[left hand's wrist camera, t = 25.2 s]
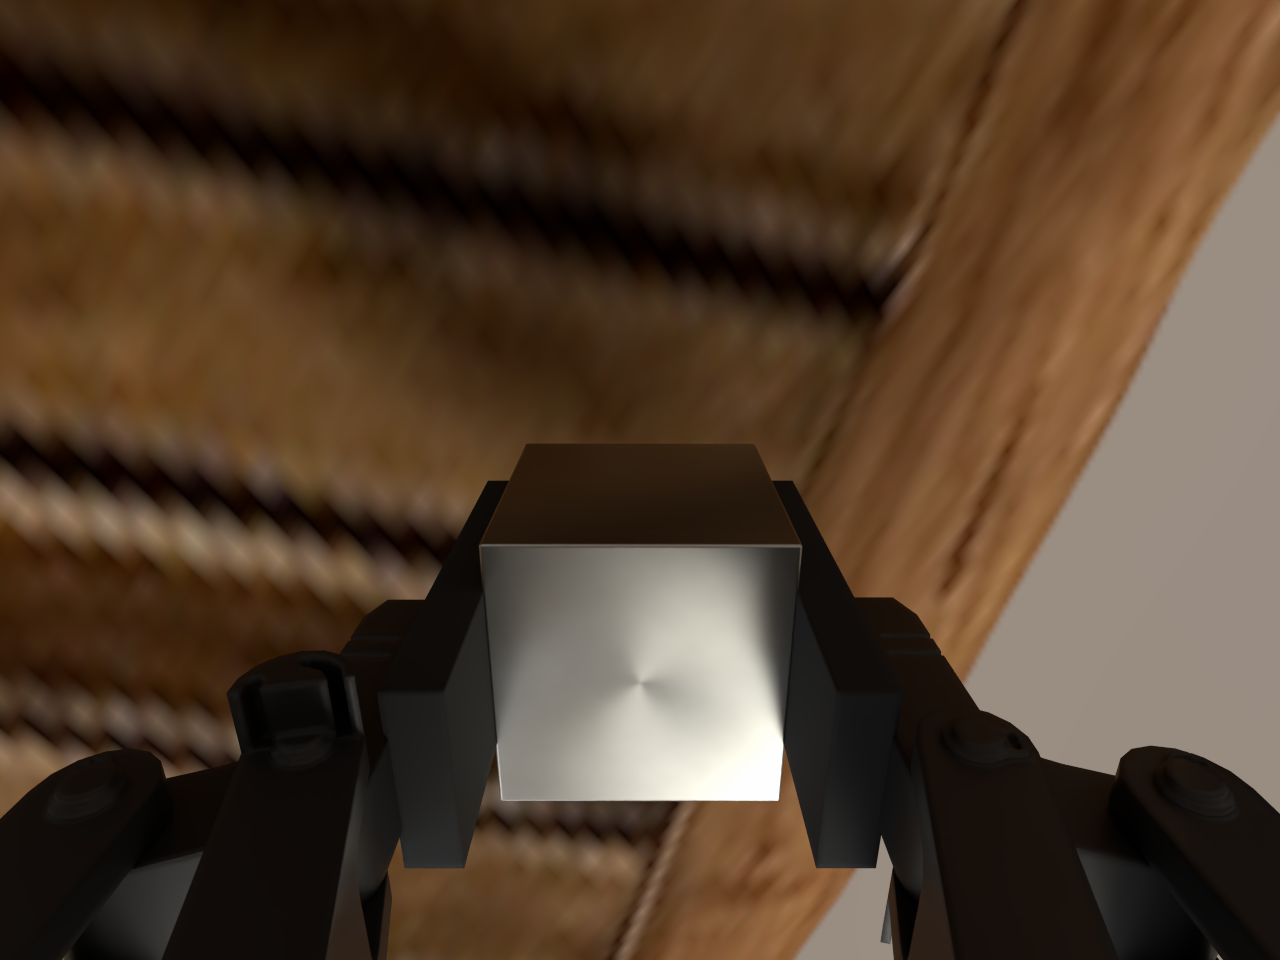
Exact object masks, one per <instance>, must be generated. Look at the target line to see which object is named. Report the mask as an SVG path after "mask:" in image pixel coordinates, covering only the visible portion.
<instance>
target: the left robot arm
mask: <svg viewBox="0 0 1280 960" xmlns="http://www.w3.org/2000/svg"><path fill="white" fill-rule="evenodd" d="M508 482H509V481H488V482H487V484H486V486H485V488H484V489H483V491H482V493H481V495H480V497H479V499H478V501H477V503H476V505H475V506H474V508H473V510H472V512H471V514H470V516H469V518H468V520H467V522H466V523H465V525H464V527H463V529H462V531H461V533H460V535H459V537H458V538H457V540H456V542H455V544H454V546H453V548H452V550H451V552H450V554H449V555H448V557H447V559H446V561H445V563H444V565H443V567H442V569H441V571H440V572H439V574H438V576H437V578H436V580H435V582H434V584H433V586H432V588H431V589H430V591H429V593H428V595H427V597H426V599H425V600H387V601H386V602H384V603H383V604H381V605H380V606H379V607H377V608H376V609H374V610H373V611H372V612H370V613H369V614H368V615H366V616H365V617H364V618H363V619H362V621H361V622H360V624H359V625H358V627H357V628H356V630H355V632H354V633H353V635H352V636H351V641H348V642H347V644H346V645H345V647H344V648H343V650H342V651H341V653H340V654H336V653H332V652H328V651H301V652H296V653H292V654H287V655H283V656H279V657H276V658H274V659H271V660H269V661H267V662H264V663H262V664H260V665H257V666H255V667H254V668H253V669H251V670H250V671H248V672H247V673H245V674H244V675H242V676H241V677H240V678H238V679H237V681H236V682H235V683H234V684H233V686H232V687H231V688H230V689H229V691H228V692H227V697H228V701H229V705H230V709H231V713H232V717H233V721H234V725H235V729H236V733H237V737H238V741H239V745H240V749H241V756H240V759H239V761H237V762H233V763H230V764H227V765H223V766H220V767H216V768H211V769H207V770H202V771H198V772H193V773H189V774H184V775H180V776H175V777H171V778H166V777H165V773H164V770H163V767H162V763H161V761H160V760H159V759H158V758H157V757H155V756H154V755H153V754H152V753H151V752H147V751H142V750H136V749H124V750H115V751H107V752H103V753H100V754H97V755H94V756H91V757H87V758H84V759H81V760H78V761H76V762H74V763H72V764H70V765H69V766H67V767H65V768H63V769H61V770H59V771H57V772H55V773H53V774H51V775H50V776H48V777H47V778H46V779H45V780H43V781H42V782H41V783H39V784H38V785H37V786H35V787H34V788H33V789H32V790H30V791H29V792H28V793H27V794H26V795H25V796H24V797H23V798H22V799H21V800H19V801H18V802H17V803H16V804H15V805H14V806H13V807H12V808H11V809H10V810H9V811H8V812H7V813H6V814H5V815H4V816H3V817H2V818H1V819H0V960H62V959H63V957H64V958H65V960H386V956H387V945H388V935H389V924H390V914H391V903H392V895H391V888H390V882H389V876H388V867H389V864H390V862H391V859H392V856H393V854H394V851H395V848H396V846H397V843H398V840H399V837H400V842H401V848H402V854H403V861H404V867H405V868H464V867H465V863H466V859H467V855H468V852H469V848H470V844H471V840H472V836H473V832H474V829H475V825H476V821H477V817H478V813H479V809H480V805H481V802H482V798H483V794H484V790H485V786H486V782H487V779H488V775H489V771H490V767H491V763H492V759H493V756H494V752H495V748H496V735H495V723H494V712H493V700H492V689H491V677H490V666H489V654H488V642H487V631H486V619H485V608H484V596H483V589H482V578H481V566H480V555H479V544H480V542H481V540H482V538H483V535H484V533H485V531H486V529H487V527H488V525H489V523H490V521H491V518H492V516H493V514H494V512H495V510H496V508H497V506H498V504H499V501H500V499H501V497H502V495H503V493H504V491H505V489H506V486H507V484H508ZM772 482H773V485H774V487H775V489H776V491H777V493H778V495H779V497H780V499H781V502H782V504H783V506H784V508H785V510H786V512H787V514H788V516H789V519H790V521H791V523H792V525H793V527H794V529H795V531H796V533H797V536H798V538H799V540H800V542H801V544H802V557H801V568H800V579H799V590H798V592H797V603H796V615H795V626H794V638H793V649H792V661H791V672H790V684H789V695H788V706H787V718H786V729H785V741H784V746H785V750H786V754H787V758H788V761H789V765H790V769H791V773H792V777H793V781H794V784H795V788H796V792H797V796H798V800H799V804H800V807H801V811H802V815H803V819H804V823H805V827H806V830H807V834H808V838H809V842H810V846H811V850H812V853H813V857H814V861H815V865H816V868H876V864H877V858H878V851H879V845H880V839H881V835H882V838H883V841H884V843H885V846H886V848H887V851H888V854H889V856H890V859H891V862H892V864H893V870H892V876H891V882H890V888H889V894H888V900H887V905H886V911H885V917H884V923H883V929H882V936H881V942H883V943H888V944H890V941H891V936H892V944H893V954H894V960H1219V959H1218V958H1217V955H1218V954H1219V955H1220V957H1221V958H1222V959H1223V960H1280V814H1279V813H1278V812H1277V811H1276V810H1275V809H1274V808H1273V807H1272V806H1271V805H1270V804H1269V803H1268V802H1267V801H1266V800H1265V799H1264V798H1263V797H1262V796H1261V795H1260V794H1258V793H1257V792H1256V791H1255V790H1254V789H1253V788H1252V787H1251V786H1249V785H1248V784H1247V783H1245V782H1244V781H1243V780H1241V779H1240V778H1239V777H1237V776H1236V775H1235V774H1233V773H1232V772H1231V771H1229V770H1227V769H1225V768H1223V767H1221V766H1219V765H1217V764H1215V763H1213V762H1211V761H1209V760H1207V759H1205V758H1203V757H1200V756H1198V755H1195V754H1192V753H1188V752H1185V751H1182V750H1178V749H1175V748H1166V747H1158V746H1146V747H1141V748H1134V749H1131V750H1130V751H1129V752H1127V753H1126V754H1125V755H1124V756H1123V757H1122V758H1121V759H1120V762H1119V766H1118V769H1117V772H1116V775H1110V774H1105V773H1101V772H1096V771H1092V770H1087V769H1083V768H1078V767H1074V766H1069V765H1065V764H1061V763H1057V762H1054V761H1051V760H1047V759H1044V758H1041V757H1040V755H1039V752H1038V751H1037V749H1036V748H1035V746H1034V745H1033V743H1032V742H1031V740H1030V739H1029V737H1028V736H1026V735H1025V734H1024V733H1023V732H1021V731H1020V730H1019V729H1018V728H1016V727H1015V726H1014V725H1013V724H1011V723H1010V722H1008V721H1006V720H1003V719H1001V718H999V717H997V716H995V715H993V714H991V713H989V712H985V711H981V710H979V708H978V707H977V705H976V704H975V702H974V701H973V699H972V698H971V696H970V695H969V693H968V692H967V690H966V689H965V687H964V686H963V684H962V683H961V681H960V679H959V678H958V676H957V675H956V673H955V672H954V670H953V669H952V667H951V666H950V664H949V663H948V661H947V660H946V658H945V657H944V656H941V651H940V649H939V648H938V646H937V644H936V643H935V641H934V640H933V639H930V634H929V632H928V631H927V629H926V628H925V626H924V625H923V623H922V622H921V620H920V619H919V617H918V616H917V614H915V613H914V612H912V611H911V610H910V609H908V608H907V607H905V606H904V605H903V604H901V603H900V602H898V601H897V600H896V599H894V598H854V596H853V594H852V592H851V590H850V588H849V587H848V585H847V583H846V581H845V579H844V577H843V575H842V573H841V571H840V570H839V568H838V566H837V564H836V562H835V560H834V558H833V556H832V554H831V553H830V551H829V549H828V547H827V545H826V543H825V541H824V539H823V537H822V536H821V534H820V532H819V530H818V528H817V526H816V524H815V522H814V521H813V519H812V517H811V515H810V513H809V511H808V509H807V507H806V505H805V504H804V502H803V500H802V498H801V496H800V494H799V492H798V490H797V488H796V487H795V485H794V483H793V481H772Z"/></svg>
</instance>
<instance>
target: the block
mask: <svg viewBox="0 0 1280 960" xmlns="http://www.w3.org/2000/svg"><path fill="white" fill-rule="evenodd" d="M479 555H480V566H481V578H482V589H483V596H484V608H485V619H486V631H487V642H488V654H489V666H490V677H491V689H492V700H493V712H494V723H495V735H496V755H497V766H498V778H499V790H500V799H501V800H502V801H779V799H780V792H781V781H782V769H783V758H784V747H785V746H784V741H785V729H786V718H787V706H788V695H789V684H790V672H791V661H792V649H793V638H794V626H795V615H796V603H797V592H798V590H799V579H800V568H801V557H802V544H801V542H800V540H799V538H798V536H797V533H796V531H795V529H794V527H793V525H792V523H791V521H790V519H789V516H788V514H787V512H786V510H785V508H784V506H783V504H782V502H781V499H780V497H779V495H778V493H777V491H776V489H775V487H774V485H773V482H772V480H771V478H770V476H769V474H768V472H767V470H766V468H765V465H764V463H763V461H762V459H761V457H760V455H759V453H758V451H757V448H756V446H755V445H754V444H526V446H525V448H524V450H523V452H522V455H521V457H520V459H519V461H518V463H517V465H516V467H515V469H514V472H513V474H512V476H511V478H510V480H509V482H508V484H507V486H506V489H505V491H504V493H503V495H502V497H501V499H500V501H499V504H498V506H497V508H496V510H495V512H494V514H493V516H492V518H491V521H490V523H489V525H488V527H487V529H486V531H485V533H484V535H483V538H482V540H481V542H480V544H479Z"/></svg>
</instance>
